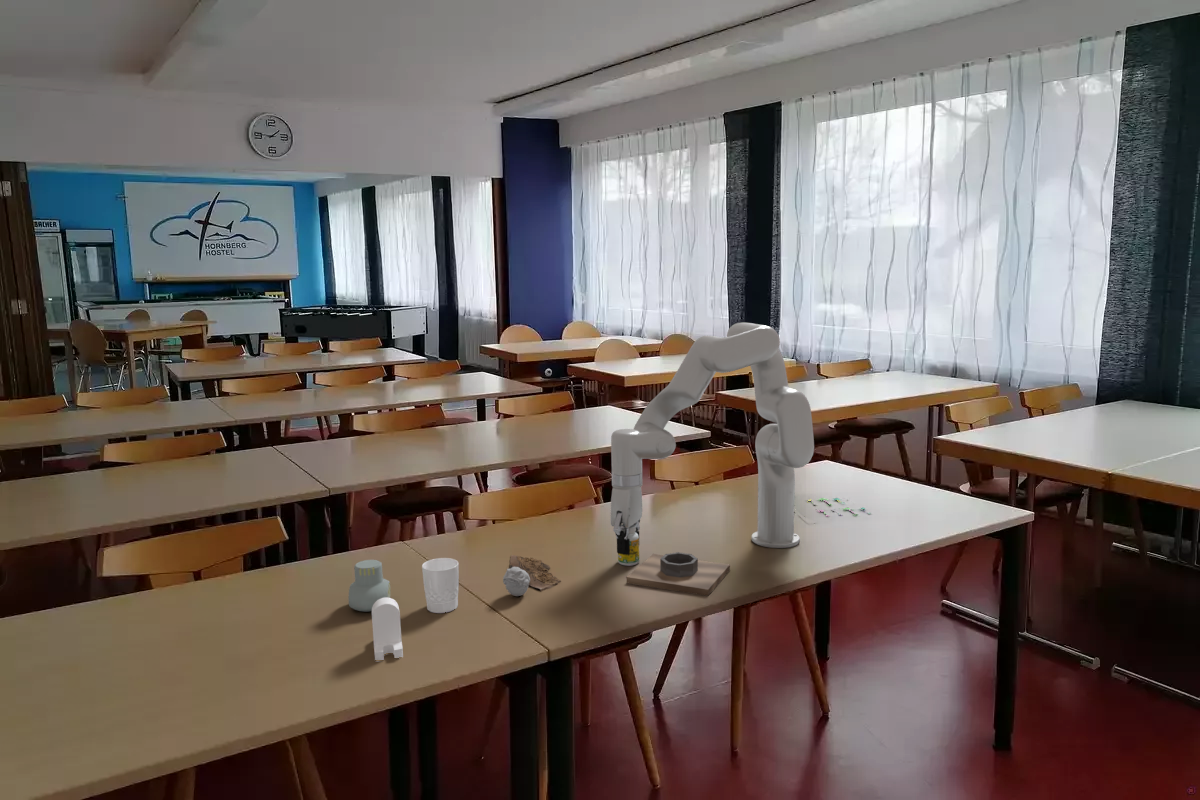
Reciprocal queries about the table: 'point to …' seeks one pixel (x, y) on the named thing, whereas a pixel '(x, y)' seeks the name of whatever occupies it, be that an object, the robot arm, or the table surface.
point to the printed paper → (831, 504)
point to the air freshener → (368, 585)
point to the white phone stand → (386, 628)
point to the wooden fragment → (535, 572)
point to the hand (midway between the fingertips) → (628, 549)
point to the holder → (679, 573)
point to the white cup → (441, 584)
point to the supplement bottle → (634, 548)
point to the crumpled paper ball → (516, 581)
